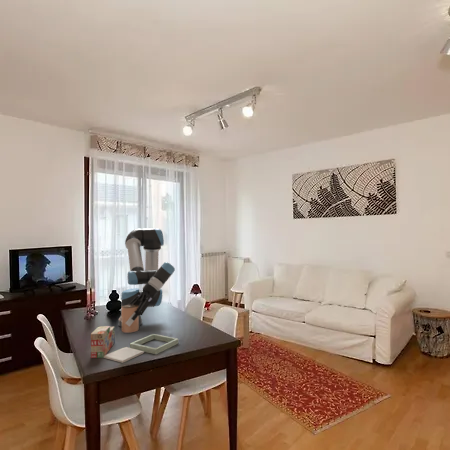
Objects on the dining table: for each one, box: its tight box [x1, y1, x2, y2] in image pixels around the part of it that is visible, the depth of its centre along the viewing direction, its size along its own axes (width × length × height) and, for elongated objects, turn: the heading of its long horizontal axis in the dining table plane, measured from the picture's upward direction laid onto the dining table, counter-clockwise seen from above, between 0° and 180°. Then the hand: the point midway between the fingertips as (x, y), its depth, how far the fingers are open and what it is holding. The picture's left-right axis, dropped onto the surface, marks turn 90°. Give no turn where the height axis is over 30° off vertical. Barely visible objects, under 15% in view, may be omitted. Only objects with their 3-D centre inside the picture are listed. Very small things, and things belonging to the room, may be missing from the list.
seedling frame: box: [129, 333, 179, 355], centre depth 179 cm, size 18×18×2 cm
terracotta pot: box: [120, 305, 140, 334], centre depth 167 cm, size 8×8×12 cm
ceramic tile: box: [103, 346, 145, 364], centre depth 165 cm, size 13×14×1 cm
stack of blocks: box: [90, 325, 116, 359], centre depth 173 cm, size 21×6×12 cm, turn 4°
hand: (123, 322), depth 165 cm, fingers closed on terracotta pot, 8 cm apart
